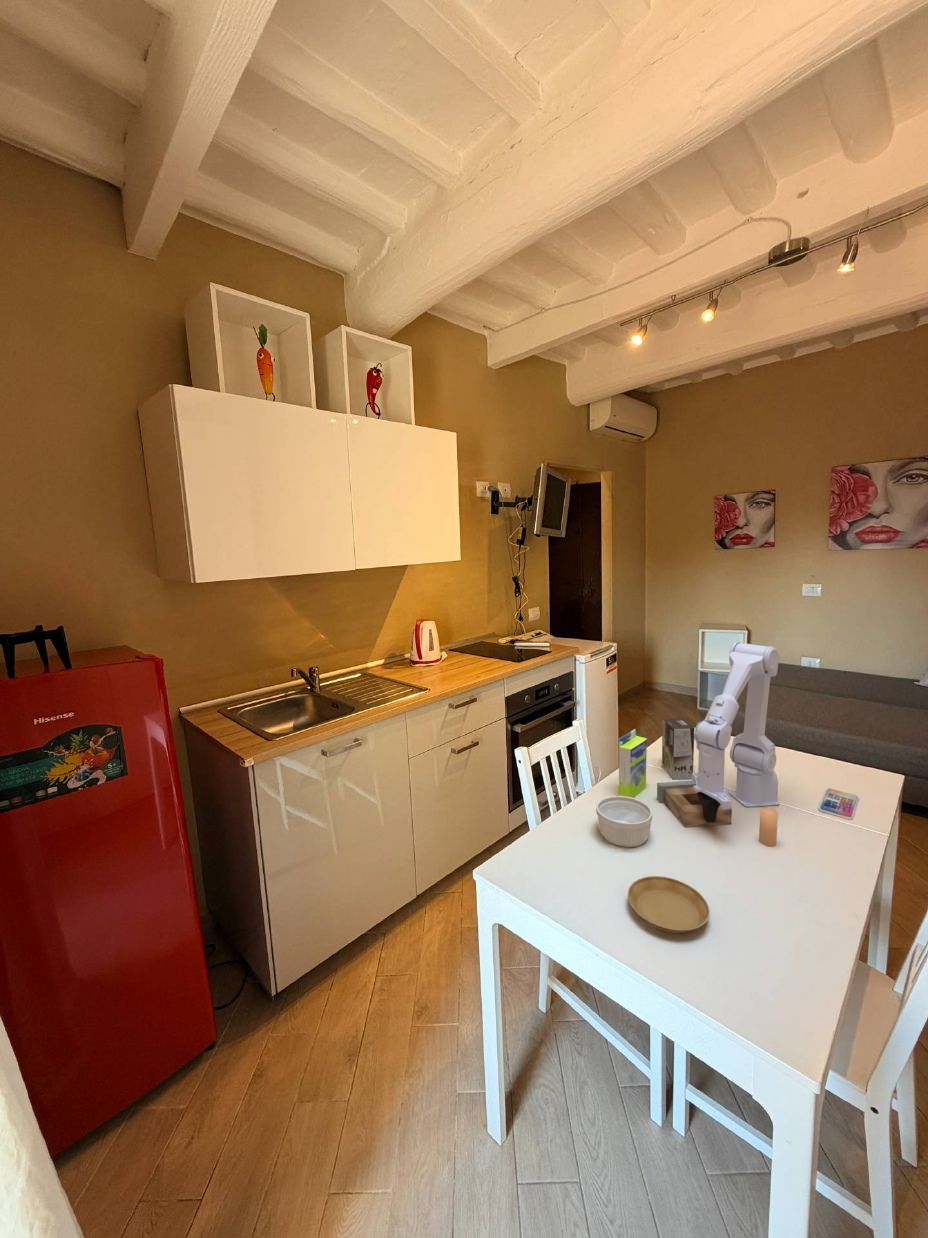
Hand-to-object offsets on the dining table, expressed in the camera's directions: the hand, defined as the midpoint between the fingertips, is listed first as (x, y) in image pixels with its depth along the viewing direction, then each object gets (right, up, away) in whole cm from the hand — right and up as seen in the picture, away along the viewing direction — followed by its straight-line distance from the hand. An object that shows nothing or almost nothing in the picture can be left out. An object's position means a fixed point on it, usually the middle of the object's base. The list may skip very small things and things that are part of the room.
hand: (709, 820), depth 123 cm
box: (-13, 0, +19) cm, 23 cm away
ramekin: (-22, -3, -1) cm, 22 cm away
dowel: (+10, -2, -7) cm, 13 cm away
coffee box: (+5, +3, +30) cm, 30 cm away
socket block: (0, -1, +7) cm, 7 cm away
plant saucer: (-22, -7, -27) cm, 35 cm away
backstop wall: (0, 0, +14) cm, 14 cm away
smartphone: (+39, 0, +8) cm, 40 cm away
